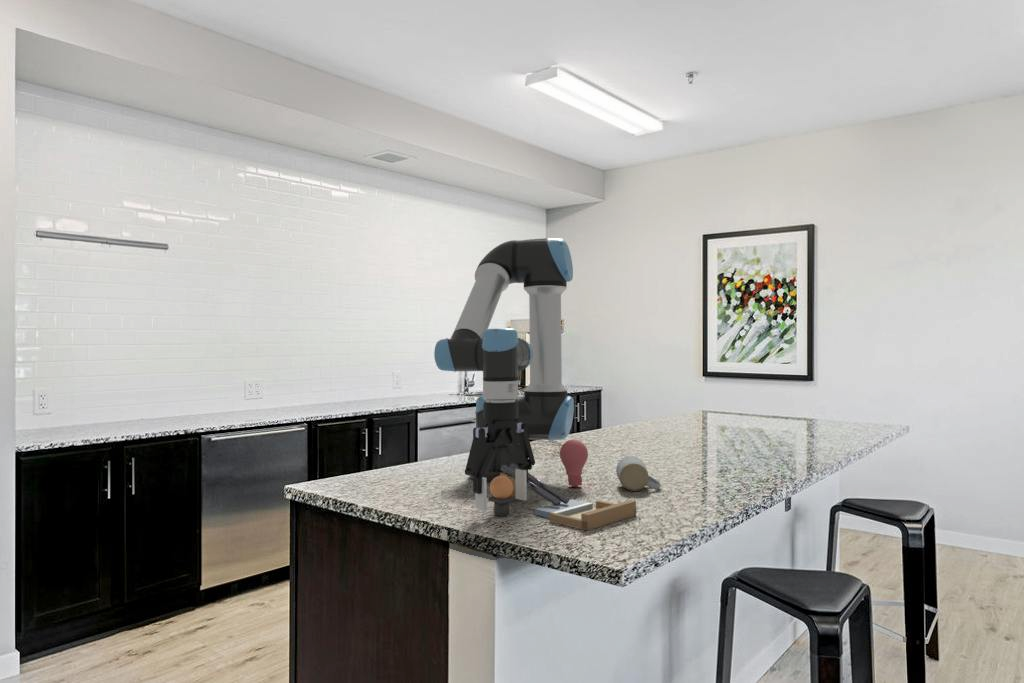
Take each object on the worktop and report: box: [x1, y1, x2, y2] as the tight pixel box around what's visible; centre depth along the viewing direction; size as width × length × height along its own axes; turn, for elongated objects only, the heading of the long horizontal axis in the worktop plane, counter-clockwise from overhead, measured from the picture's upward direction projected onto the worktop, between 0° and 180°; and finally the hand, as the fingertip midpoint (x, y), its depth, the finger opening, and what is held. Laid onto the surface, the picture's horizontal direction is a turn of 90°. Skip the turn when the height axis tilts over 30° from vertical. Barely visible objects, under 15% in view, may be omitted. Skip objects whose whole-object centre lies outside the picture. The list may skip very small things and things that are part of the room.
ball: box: [489, 476, 513, 499], centre depth 144 cm, size 5×5×5 cm
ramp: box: [500, 463, 570, 506], centre depth 152 cm, size 18×4×8 cm, turn 44°
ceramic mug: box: [615, 455, 662, 492], centre depth 168 cm, size 11×8×8 cm
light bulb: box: [559, 439, 589, 488], centre depth 171 cm, size 7×7×12 cm
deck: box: [534, 499, 594, 519], centre depth 146 cm, size 6×12×1 cm, turn 134°
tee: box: [487, 495, 515, 517], centre depth 144 cm, size 4×4×4 cm
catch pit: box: [549, 499, 637, 532], centre depth 140 cm, size 10×16×3 cm, turn 135°
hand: (501, 504), depth 144 cm, fingers open, 11 cm apart
